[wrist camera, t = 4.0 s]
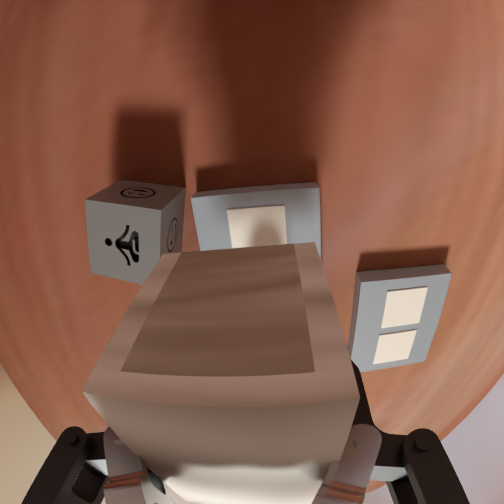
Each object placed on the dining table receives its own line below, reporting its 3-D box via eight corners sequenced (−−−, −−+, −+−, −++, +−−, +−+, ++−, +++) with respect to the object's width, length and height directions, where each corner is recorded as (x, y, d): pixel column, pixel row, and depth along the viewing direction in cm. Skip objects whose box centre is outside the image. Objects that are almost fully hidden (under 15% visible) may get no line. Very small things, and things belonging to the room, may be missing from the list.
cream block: (162, 253, 12) (82, 391, 5) (314, 241, 11) (360, 397, 5) (206, 392, 16) (186, 501, 9) (312, 388, 15) (322, 503, 9)
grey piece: (196, 191, 20) (171, 219, 15) (316, 182, 19) (331, 207, 14) (218, 311, 24) (206, 360, 19) (317, 306, 23) (326, 355, 18)
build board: (356, 271, 21) (361, 283, 20) (443, 263, 21) (452, 273, 19) (345, 361, 26) (348, 374, 24) (419, 350, 25) (424, 361, 24)
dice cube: (181, 252, 22) (159, 288, 17) (122, 241, 22) (91, 272, 17) (186, 187, 20) (161, 210, 15) (122, 179, 20) (85, 199, 15)
